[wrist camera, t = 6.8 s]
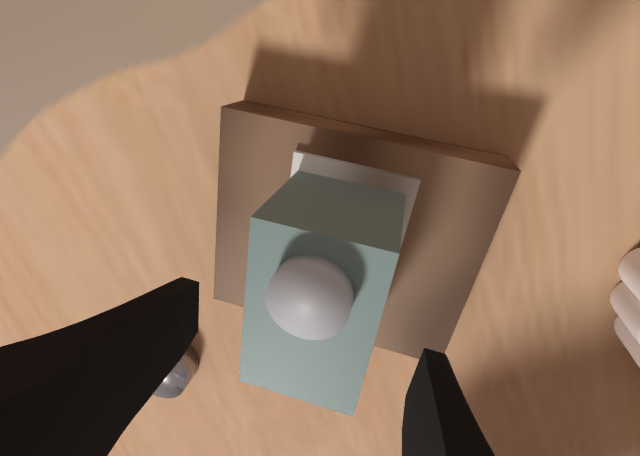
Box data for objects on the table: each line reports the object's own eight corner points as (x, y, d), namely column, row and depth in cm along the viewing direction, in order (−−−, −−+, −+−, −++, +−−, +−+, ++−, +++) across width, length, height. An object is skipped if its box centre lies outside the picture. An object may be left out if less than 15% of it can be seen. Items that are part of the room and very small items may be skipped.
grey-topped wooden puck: (200, 340, 25) (183, 362, 24) (199, 382, 27) (184, 405, 25) (146, 324, 26) (126, 344, 24) (149, 366, 28) (131, 387, 26)
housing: (369, 328, 18) (349, 436, 13) (281, 303, 19) (229, 397, 14) (405, 194, 15) (397, 268, 10) (298, 170, 16) (239, 227, 11)
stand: (508, 156, 16) (522, 173, 14) (437, 335, 20) (439, 369, 18) (243, 100, 18) (217, 107, 15) (231, 276, 22) (210, 301, 20)
